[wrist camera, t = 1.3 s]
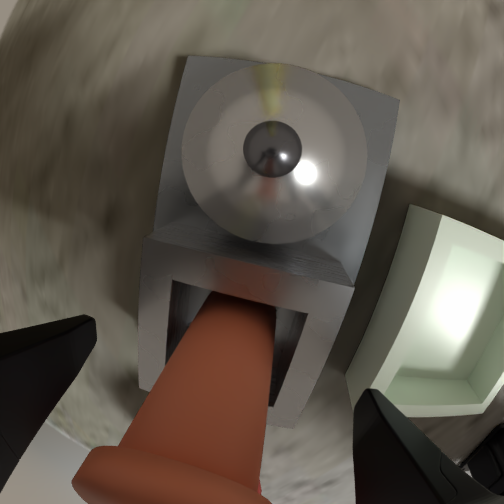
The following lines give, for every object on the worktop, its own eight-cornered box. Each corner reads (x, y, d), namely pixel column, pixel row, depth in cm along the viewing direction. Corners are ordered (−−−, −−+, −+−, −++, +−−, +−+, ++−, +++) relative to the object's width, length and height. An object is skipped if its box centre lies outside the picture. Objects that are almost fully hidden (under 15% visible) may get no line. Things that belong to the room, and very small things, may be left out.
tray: (526, 252, 10) (557, 269, 7) (464, 384, 12) (482, 413, 10) (409, 203, 10) (442, 214, 8) (344, 374, 13) (353, 414, 10)
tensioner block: (390, 105, 9) (428, 83, 6) (308, 380, 13) (311, 432, 10) (195, 63, 10) (162, 29, 6) (153, 340, 14) (122, 382, 10)
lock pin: (297, 285, 11) (304, 527, 2) (273, 363, 12) (248, 562, 3) (200, 261, 11) (45, 444, 3) (188, 341, 12) (94, 515, 4)
